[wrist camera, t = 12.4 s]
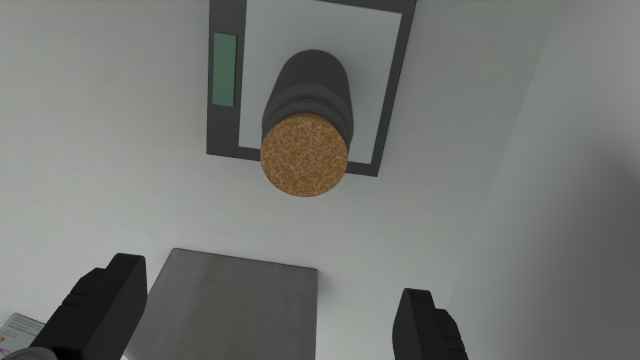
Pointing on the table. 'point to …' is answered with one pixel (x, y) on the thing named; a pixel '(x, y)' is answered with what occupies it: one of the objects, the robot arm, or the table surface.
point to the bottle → (307, 125)
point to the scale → (289, 39)
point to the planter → (227, 311)
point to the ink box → (18, 334)
